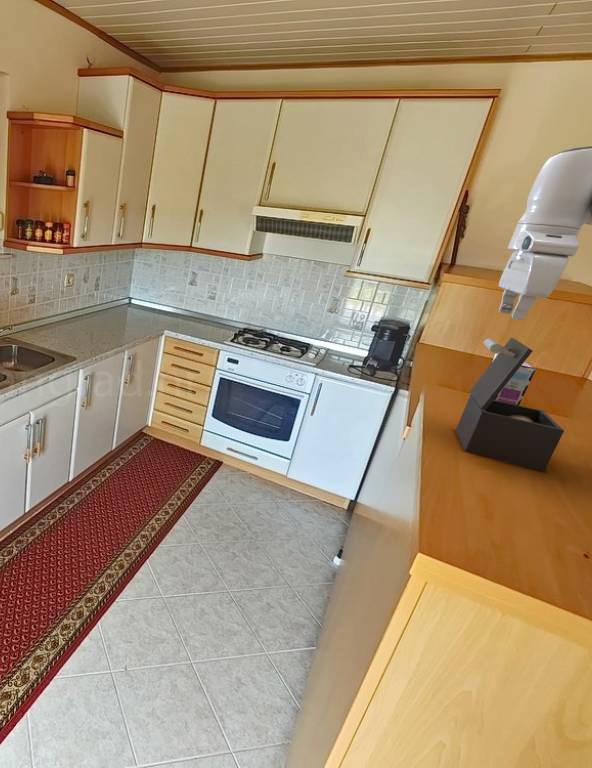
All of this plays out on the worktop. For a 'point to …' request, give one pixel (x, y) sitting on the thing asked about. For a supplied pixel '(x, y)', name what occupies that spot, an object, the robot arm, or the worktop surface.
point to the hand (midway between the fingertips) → (510, 315)
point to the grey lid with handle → (499, 370)
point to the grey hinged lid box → (509, 433)
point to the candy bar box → (516, 384)
